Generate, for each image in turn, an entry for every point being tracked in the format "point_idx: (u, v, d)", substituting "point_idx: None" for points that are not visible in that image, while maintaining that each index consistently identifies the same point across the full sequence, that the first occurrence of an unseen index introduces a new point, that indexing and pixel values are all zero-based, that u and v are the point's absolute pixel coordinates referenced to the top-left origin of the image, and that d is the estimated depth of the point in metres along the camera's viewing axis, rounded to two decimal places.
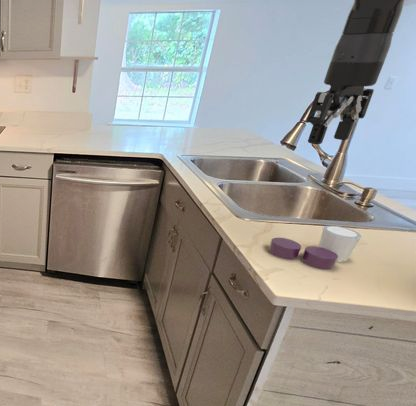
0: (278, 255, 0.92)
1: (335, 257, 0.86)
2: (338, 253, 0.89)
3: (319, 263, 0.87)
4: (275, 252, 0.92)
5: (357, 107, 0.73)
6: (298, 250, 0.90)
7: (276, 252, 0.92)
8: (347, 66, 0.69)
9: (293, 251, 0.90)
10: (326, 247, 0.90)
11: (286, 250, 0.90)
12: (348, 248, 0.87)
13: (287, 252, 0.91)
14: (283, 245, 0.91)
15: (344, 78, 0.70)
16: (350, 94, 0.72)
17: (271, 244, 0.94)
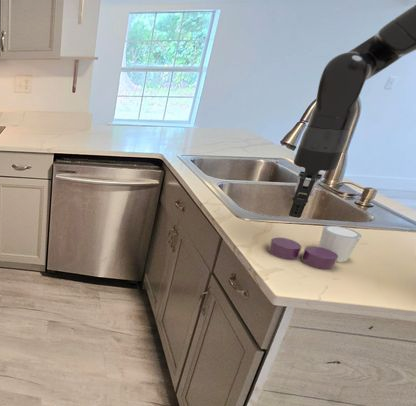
0: (278, 255, 0.92)
1: (335, 257, 0.86)
2: (338, 253, 0.89)
3: (319, 263, 0.87)
4: (275, 252, 0.92)
5: None
6: (298, 250, 0.90)
7: (276, 252, 0.92)
8: (321, 155, 0.80)
9: (293, 251, 0.90)
10: (326, 247, 0.90)
11: (286, 250, 0.90)
12: (348, 248, 0.87)
13: (287, 252, 0.91)
14: (283, 245, 0.91)
15: (319, 165, 0.81)
16: (317, 174, 0.84)
17: (271, 244, 0.94)
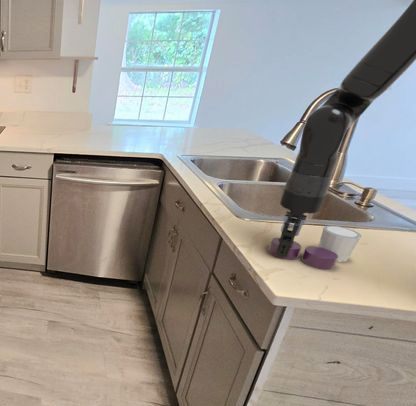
0: (278, 255, 0.92)
1: (335, 257, 0.86)
2: (338, 253, 0.89)
3: (319, 263, 0.87)
4: (275, 252, 0.92)
5: None
6: (298, 250, 0.90)
7: None
8: (305, 199, 0.84)
9: (293, 251, 0.90)
10: (326, 247, 0.90)
11: None
12: (348, 248, 0.87)
13: None
14: None
15: (303, 208, 0.85)
16: (302, 216, 0.88)
17: (271, 244, 0.94)
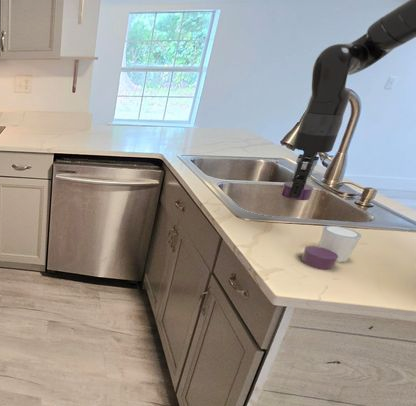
0: (291, 197, 0.96)
1: (335, 257, 0.86)
2: (338, 253, 0.89)
3: (319, 263, 0.87)
4: (288, 194, 0.96)
5: (314, 166, 0.94)
6: (310, 191, 0.94)
7: None
8: (318, 138, 0.88)
9: (306, 191, 0.94)
10: (326, 247, 0.90)
11: None
12: (348, 248, 0.87)
13: None
14: None
15: (316, 147, 0.89)
16: (314, 157, 0.92)
17: (284, 187, 0.97)
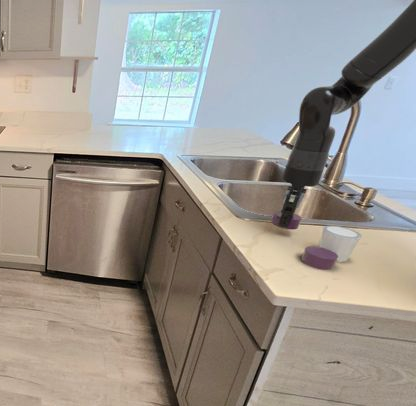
0: (280, 226, 1.01)
1: (335, 257, 0.86)
2: (338, 253, 0.89)
3: (319, 263, 0.87)
4: (277, 223, 1.01)
5: None
6: (298, 221, 0.99)
7: (278, 223, 1.01)
8: (305, 173, 0.93)
9: (294, 221, 0.99)
10: (326, 247, 0.90)
11: None
12: (348, 248, 0.87)
13: None
14: None
15: (303, 181, 0.94)
16: (302, 189, 0.97)
17: (274, 216, 1.02)
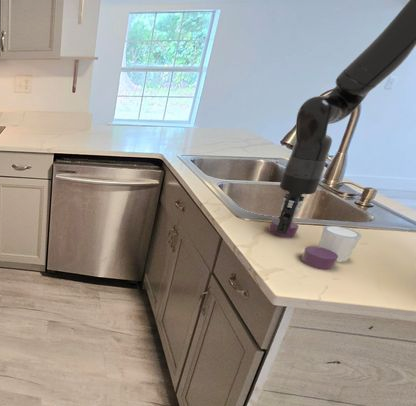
0: (277, 234, 1.02)
1: (335, 257, 0.86)
2: (338, 253, 0.89)
3: (319, 263, 0.87)
4: (275, 231, 1.02)
5: None
6: (295, 229, 1.00)
7: (276, 231, 1.02)
8: (302, 181, 0.94)
9: (291, 230, 1.00)
10: (326, 247, 0.90)
11: None
12: (348, 248, 0.87)
13: None
14: None
15: (300, 189, 0.95)
16: (299, 197, 0.98)
17: (271, 224, 1.03)
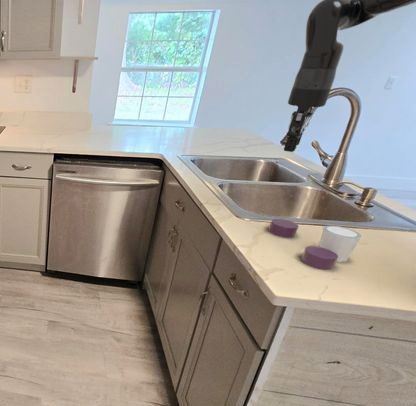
0: (277, 234, 1.02)
1: (335, 257, 0.86)
2: (338, 253, 0.89)
3: (319, 263, 0.87)
4: (275, 231, 1.02)
5: (309, 121, 0.97)
6: (295, 229, 1.00)
7: (276, 231, 1.02)
8: (312, 92, 0.91)
9: (291, 230, 1.00)
10: (326, 247, 0.90)
11: (285, 229, 1.00)
12: (348, 248, 0.87)
13: (286, 231, 1.00)
14: (282, 225, 1.01)
15: (310, 101, 0.92)
16: (308, 112, 0.95)
17: (271, 224, 1.03)
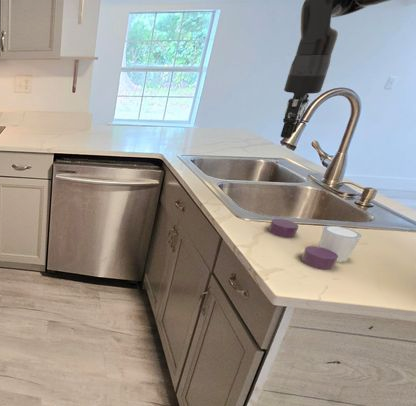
0: (277, 234, 1.02)
1: (335, 257, 0.86)
2: (338, 253, 0.89)
3: (319, 263, 0.87)
4: (275, 231, 1.02)
5: (305, 108, 0.99)
6: (295, 229, 1.00)
7: (276, 231, 1.02)
8: (307, 78, 0.92)
9: (291, 230, 1.00)
10: (326, 247, 0.90)
11: (285, 229, 1.00)
12: (348, 248, 0.87)
13: (286, 231, 1.00)
14: (282, 225, 1.01)
15: (305, 88, 0.93)
16: (304, 99, 0.96)
17: (271, 224, 1.03)
